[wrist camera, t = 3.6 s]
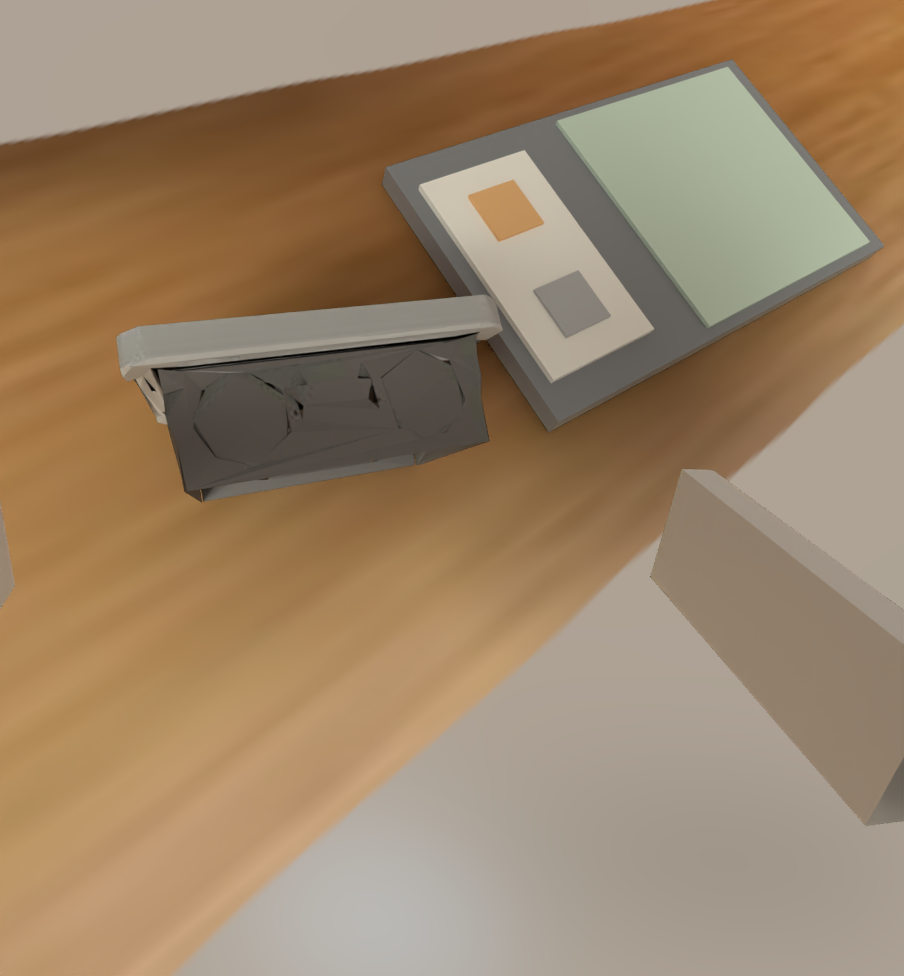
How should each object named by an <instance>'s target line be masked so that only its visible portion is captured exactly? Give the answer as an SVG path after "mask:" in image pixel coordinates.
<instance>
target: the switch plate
mask: <svg viewBox="0 0 904 976" xmlns="http://www.w3.org/2000/svg"><path fill="white" fill-rule="evenodd" d="M382 185H383V187H384V188H385V190H386V191H387V193H388V194H389V196H390V197H391V199H392V200H393V202H394V203H395V205H396V206H397V208H398V209H399V211H400V212H401V214H402V215H403V217H404V218H405V220H406V221H407V223H408V224H409V226H410V227H411V229H412V230H413V232H414V233H415V235H416V236H417V237H418V239H419V240H420V242H421V243H422V245H423V246H424V248H425V249H426V251H427V252H428V254H429V255H430V257H431V258H432V260H433V261H434V263H435V264H436V266H437V267H438V269H439V270H440V272H441V273H442V275H443V276H444V278H445V279H446V281H447V282H448V284H449V285H450V287H451V288H452V289H453V291H454V292H455V294H456V295H457V297H464V296H475V295H487V296H489V297H491V298H493V299H495V302H496V306H497V310H498V314H499V318H500V322H501V326H502V329H503V331H501V332H499V333H498V334H496V335H494V336H493V337H491V338H489V339H487V341H488V343H489V344H490V346H491V347H492V349H493V350H494V352H495V353H496V355H497V356H498V358H499V359H500V361H501V362H502V364H503V365H504V367H505V368H506V370H507V371H508V373H509V374H510V376H511V377H512V379H513V380H514V382H515V383H516V385H517V386H518V388H519V389H520V391H521V392H522V393H523V395H524V396H525V398H526V399H527V401H528V402H529V404H530V405H531V407H532V408H533V410H534V411H535V413H536V414H537V416H538V417H539V419H540V420H541V422H542V423H543V425H544V426H545V428H546V429H547V431H548V432H551V431H552V430H554V429H556V428H558V427H560V426H562V425H563V424H565V423H567V422H569V421H571V420H573V419H574V418H576V417H578V416H580V415H582V414H584V413H586V412H587V411H589V410H591V409H593V408H595V407H597V406H598V405H600V404H602V403H604V402H606V401H608V400H609V399H611V398H613V397H615V396H617V395H619V394H620V393H622V392H624V391H626V390H628V389H630V388H631V387H633V386H635V385H637V384H639V383H641V382H642V381H644V380H646V379H648V378H650V377H652V376H654V375H655V374H657V373H659V372H661V371H663V370H665V369H666V368H668V367H670V366H672V365H674V364H676V363H677V362H679V361H681V360H683V359H685V358H687V357H688V356H690V355H692V354H694V353H696V352H698V351H699V350H701V349H703V348H705V347H707V346H709V345H710V344H712V343H714V342H716V341H718V340H720V339H722V338H723V337H725V336H727V335H729V334H731V333H733V332H734V331H736V330H738V329H740V328H742V327H744V326H745V325H747V324H749V323H751V322H753V321H755V320H756V319H758V318H760V317H762V316H764V315H766V314H767V313H769V312H771V311H773V310H775V309H777V308H778V307H780V306H782V305H784V304H786V303H788V302H790V301H791V300H793V299H795V298H797V297H799V296H801V295H802V294H804V293H806V292H808V291H810V290H812V289H813V288H815V287H817V286H819V285H821V284H823V283H824V282H826V281H828V280H830V279H832V278H834V277H835V276H837V275H839V274H841V273H843V272H845V271H846V270H848V269H850V268H852V267H854V266H856V265H858V264H859V263H861V262H863V261H865V260H867V259H869V258H870V257H871V256H872V255H874V254H875V253H876V252H877V251H879V250H880V249H881V248H882V247H884V245H883V244H882V242H881V241H880V240H879V239H878V237H877V236H876V235H875V234H874V233H873V231H872V230H871V229H870V228H869V226H868V225H867V224H866V223H865V221H864V220H863V219H862V218H861V217H860V215H859V214H858V213H857V212H856V210H855V209H854V208H853V207H852V206H851V204H850V203H849V202H848V201H847V199H846V198H845V197H844V196H843V195H842V193H841V192H840V191H839V190H838V188H837V187H836V186H835V185H834V183H833V182H832V181H831V180H830V179H829V177H828V176H827V175H826V174H825V172H824V171H823V170H822V169H821V168H820V166H819V165H818V164H817V163H816V161H815V160H814V159H813V158H812V157H811V155H810V154H809V153H808V152H807V150H806V149H805V148H804V147H803V146H802V144H801V143H800V142H799V141H798V139H797V138H796V137H795V136H794V134H793V133H792V132H791V131H790V130H789V128H788V127H787V126H786V125H785V123H784V122H783V121H782V120H781V119H780V117H779V116H778V115H777V114H776V112H775V111H774V110H773V109H772V108H771V106H770V105H769V104H768V103H767V101H766V100H765V99H764V98H763V96H762V95H761V94H760V93H759V92H758V90H757V89H756V88H755V87H754V85H753V84H752V83H751V82H750V81H749V79H748V78H747V77H746V76H745V74H744V73H743V72H742V71H741V70H740V68H739V67H738V66H737V65H736V63H735V62H734V61H733V60H729V61H725V62H722V63H719V64H716V65H713V66H709V67H706V68H703V69H700V70H696V71H693V72H690V73H687V74H684V75H680V76H677V77H674V78H671V79H668V80H664V81H661V82H658V83H655V84H651V85H648V86H645V87H642V88H639V89H635V90H632V91H629V92H626V93H623V94H619V95H616V96H613V97H610V98H606V99H603V100H600V101H597V102H594V103H590V104H587V105H584V106H581V107H577V108H574V109H571V110H568V111H565V112H561V113H558V114H555V115H552V116H549V117H545V118H542V119H539V120H536V121H532V122H529V123H526V124H523V125H520V126H516V127H513V128H510V129H507V130H504V131H500V132H497V133H494V134H491V135H487V136H484V137H481V138H478V139H475V140H471V141H468V142H465V143H462V144H459V145H455V146H452V147H449V148H446V149H442V150H439V151H436V152H433V153H430V154H426V155H423V156H420V157H417V158H413V159H410V160H407V161H404V162H401V163H397V164H394V165H391V166H388V167H386V168H385V173H384V178H383V183H382Z"/></svg>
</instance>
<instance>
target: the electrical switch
mask: <svg viewBox="0 0 904 976" xmlns="http://www.w3.org/2000/svg"><path fill="white" fill-rule="evenodd" d="M501 331H503V329H502V326H501V322H500V318H499V314H498V310H497V306H496V302H495V299H493V298H491V297H489V296H487V295H475V296H464V297H453V298H443V299H432V300H421V301H410V302H399V303H388V304H377V305H366V306H355V307H345V308H334V309H323V310H312V311H301V312H290V313H279V314H268V315H257V316H247V317H236V318H225V319H214V320H203V321H192V322H181V323H170V324H159V325H149V326H138V327H136V328H133V329H131V330H128V331H126V332H124V333H121V334H119V335H118V336H117V337H116V338H117V347H118V355H119V364H120V371H121V374H122V377H123V378H124V379H125V380H126V381H131V380H135V382H136V383H137V384H138V386H139V388H140V390H141V391H142V393H143V395H144V397H145V399H146V400H147V402H148V404H149V406H150V407H151V409H152V411H153V413H154V414H155V415H156V419H157V422H158V423H162V424H166V425H168V429H169V433H170V436H171V440H172V444H173V447H174V451H175V455H176V458H177V462H178V465H179V469H180V473H181V477H182V482H183V487H184V491H185V492H186V493H187V494H189V495H190V496H192V497H194V498H195V499H197V500H199V501H200V502H202V499H201V492H200V489H201V491H202V496H203V500H204V501H208V500H214V499H220V498H226V497H231V496H237V495H243V494H249V493H255V492H260V491H266V490H272V489H278V488H283V487H289V486H295V485H301V484H307V483H312V482H318V481H324V480H330V479H336V478H341V477H347V476H353V475H359V474H365V473H370V472H376V471H382V470H388V469H394V468H399V467H405V466H411V465H414V464H415V461H414V455H413V454H415V458H416V463H417V465H420V464H423V463H426V462H429V461H432V460H435V459H438V458H441V457H444V456H447V455H450V454H452V453H455V452H458V451H461V450H464V449H467V448H470V447H473V446H476V445H479V444H482V443H485V442H488V441H489V436H488V431H487V426H486V421H485V416H484V411H483V406H482V401H481V372H480V367H479V362H478V357H477V348H476V344H477V343H479V342H480V341H481V340H487V339H489V338H491V337H493V336H494V335H496V334H498V333H499V332H501ZM265 478H269V479H268V480H262V479H265Z"/></svg>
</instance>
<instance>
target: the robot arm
mask: <svg viewBox="0 0 904 976" xmlns="http://www.w3.org/2000/svg"><path fill="white" fill-rule="evenodd" d="M650 577H651V578H652V579H653V580H654V582H655V583H656V584H657V585H658V586H659V587H660V588H661V590H662V591H663V592H664V593H665V594H666V595H667V597H668V598H669V599H670V600H671V601H672V602H673V604H674V605H675V606H676V607H677V608H678V609H679V611H680V612H681V613H682V614H683V615H684V616H685V617H686V618H687V620H688V621H689V622H690V623H691V624H692V626H693V627H694V628H695V629H696V630H697V631H698V632H699V633H700V635H701V636H702V637H703V638H704V639H705V641H706V642H707V643H708V644H709V645H710V646H711V648H712V649H713V650H714V651H715V652H716V653H717V655H718V656H719V657H720V658H721V659H722V660H723V661H724V663H725V664H726V665H727V666H728V667H729V668H730V670H731V671H732V672H733V673H734V674H735V675H736V676H737V678H738V679H739V680H740V681H741V682H742V683H743V685H744V686H745V687H746V688H747V689H748V690H749V691H750V693H751V694H752V695H753V696H754V697H755V698H756V700H757V701H758V702H759V703H760V704H761V705H762V707H763V708H764V709H765V710H766V711H767V712H768V714H769V715H770V716H771V717H772V718H773V719H774V721H775V722H776V723H777V724H778V725H779V726H780V727H781V729H782V730H783V731H784V732H785V733H786V734H787V736H788V737H789V738H790V739H791V740H792V741H793V743H794V744H795V745H796V746H797V747H798V748H799V749H800V751H801V752H802V753H803V754H804V755H805V756H806V757H807V759H808V760H809V761H810V762H811V763H812V764H813V766H814V767H815V768H816V769H817V770H818V771H819V772H820V774H821V775H822V776H823V777H824V778H825V779H826V781H827V782H828V783H829V784H830V785H831V787H832V788H833V789H834V790H835V791H836V792H837V793H838V795H839V796H840V797H841V798H842V799H843V800H844V801H845V803H846V804H847V805H848V806H849V807H850V808H851V809H852V811H853V812H854V813H855V814H856V815H857V817H858V818H859V819H860V820H861V821H862V822H863V824H864V825H865V826H868V825H876V824H884V823H892V822H900V821H904V610H903V609H901V608H900V607H899V606H897V605H896V604H894V603H893V602H892V601H891V600H889V599H888V598H886V597H885V596H883V595H882V594H881V593H879V592H878V591H877V590H875V589H874V588H872V587H871V586H870V585H868V584H867V583H866V582H864V581H863V580H862V579H860V578H859V577H858V576H856V575H855V574H854V573H852V572H851V571H849V570H848V569H847V568H845V567H844V566H843V565H841V564H840V563H839V562H837V561H836V560H835V559H833V558H832V557H830V556H829V555H828V554H826V553H825V552H823V551H822V550H821V549H820V548H818V547H817V546H815V545H814V544H813V543H811V542H810V541H809V540H807V539H806V538H804V537H803V536H802V535H801V534H799V533H798V532H796V531H795V530H794V529H792V528H791V527H789V526H788V525H787V524H786V523H784V522H783V521H781V520H780V519H779V518H777V517H776V516H775V515H773V514H772V513H771V512H769V511H768V510H767V509H765V508H764V507H762V506H761V505H760V504H758V503H757V502H756V501H754V500H753V499H752V498H750V497H749V496H747V495H746V494H745V493H743V492H742V491H741V490H739V489H738V488H737V487H735V486H734V485H732V484H731V483H730V482H728V481H727V480H726V479H724V478H723V477H722V476H720V475H719V474H718V473H716V472H715V471H713V470H697V469H682V470H681V474H680V477H679V481H678V484H677V487H676V491H675V494H674V498H673V501H672V504H671V508H670V511H669V515H668V518H667V522H666V525H665V528H664V532H663V535H662V539H661V542H660V545H659V549H658V552H657V556H656V559H655V562H654V566H653V569H652V573H651V576H650ZM14 587H15V583H14V577H13V571H12V566H11V560H10V554H9V549H8V543H7V537H6V532H5V526H4V520H3V515H2V509H1V503H0V609H1V607H2V606H3V604H4V603H5V601H6V599H7V598H8V596H9V595H10V593H11V592H12V590H13V588H14Z"/></svg>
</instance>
